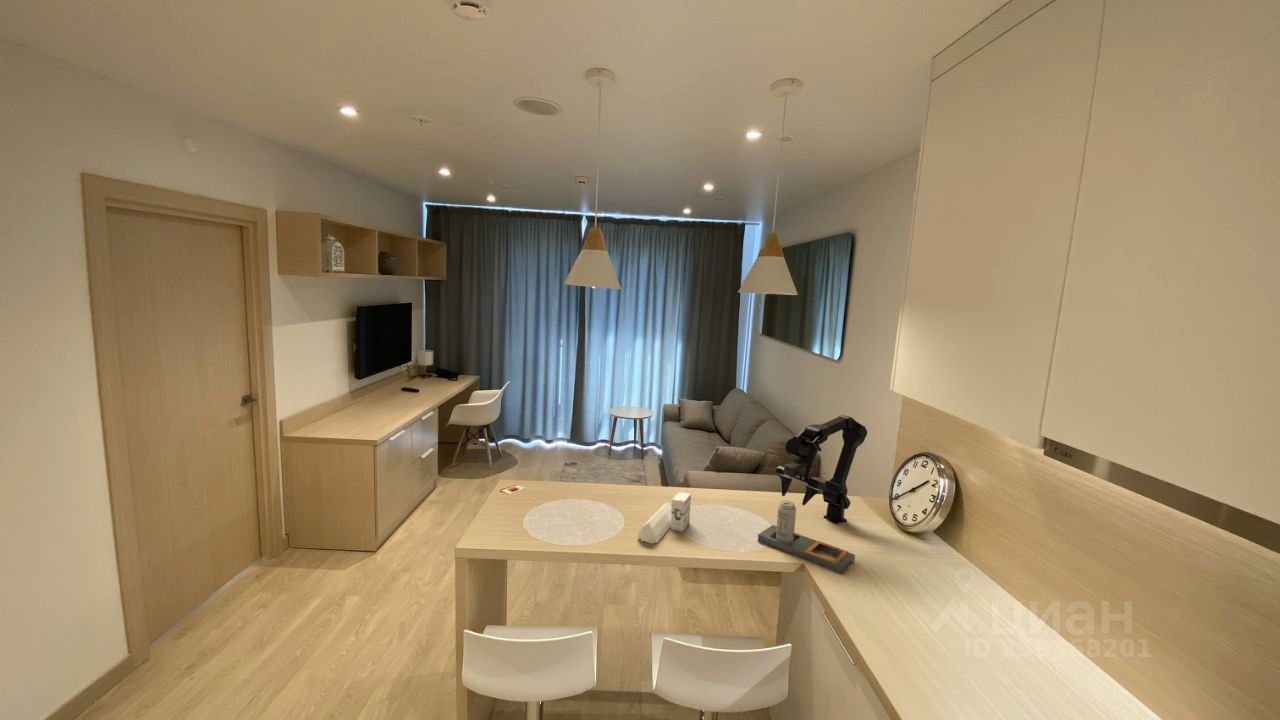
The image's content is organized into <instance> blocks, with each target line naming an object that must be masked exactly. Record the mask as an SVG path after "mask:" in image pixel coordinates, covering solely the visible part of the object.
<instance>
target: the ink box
mask: <svg viewBox="0 0 1280 720" xmlns="http://www.w3.org/2000/svg"><path fill="white" fill-rule="evenodd" d="M691 497H692V493H689V492H682V491H679V492H678V493H677V494H676V495H675V496H674V497H673V498H672V499H671V506H672V513H671V527H670V530H673V531H678V532H681V531H683V532H684V531H685V530H686V528H687V527H688V525H689V524H690V517H691V500H692V498H691Z"/></svg>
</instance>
